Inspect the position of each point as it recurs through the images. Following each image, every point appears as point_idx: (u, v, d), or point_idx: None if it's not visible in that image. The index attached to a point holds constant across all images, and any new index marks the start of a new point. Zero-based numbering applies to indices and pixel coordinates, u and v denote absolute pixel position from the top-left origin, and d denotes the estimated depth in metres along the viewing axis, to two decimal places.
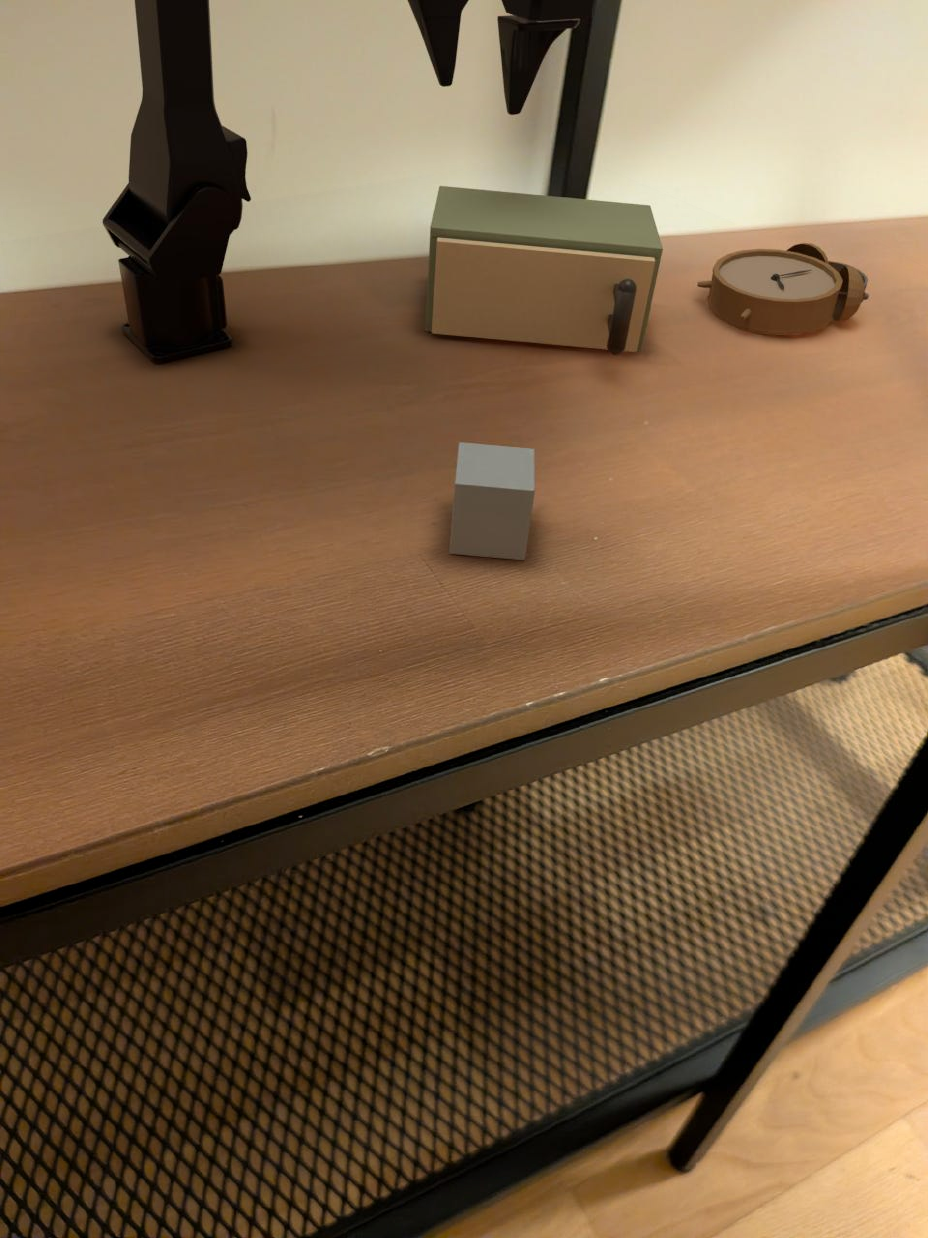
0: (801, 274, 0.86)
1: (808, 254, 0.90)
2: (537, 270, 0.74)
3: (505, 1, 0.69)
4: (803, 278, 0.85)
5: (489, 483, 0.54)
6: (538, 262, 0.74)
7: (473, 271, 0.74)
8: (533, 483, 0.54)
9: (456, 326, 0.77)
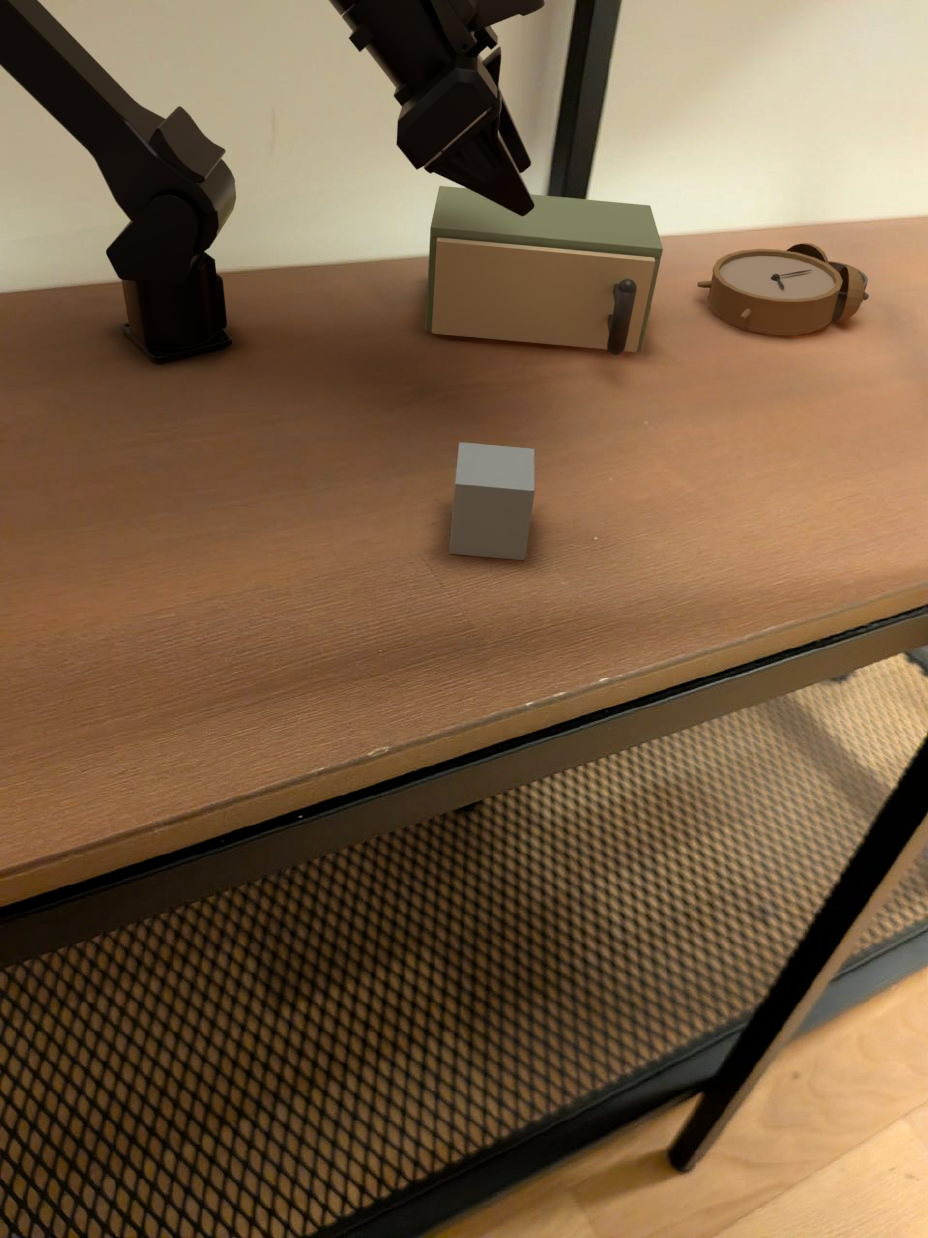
0: (801, 274, 0.86)
1: (808, 254, 0.90)
2: (537, 270, 0.74)
3: None
4: (803, 278, 0.85)
5: (489, 483, 0.54)
6: (538, 262, 0.74)
7: (473, 271, 0.74)
8: (533, 483, 0.54)
9: (456, 326, 0.77)
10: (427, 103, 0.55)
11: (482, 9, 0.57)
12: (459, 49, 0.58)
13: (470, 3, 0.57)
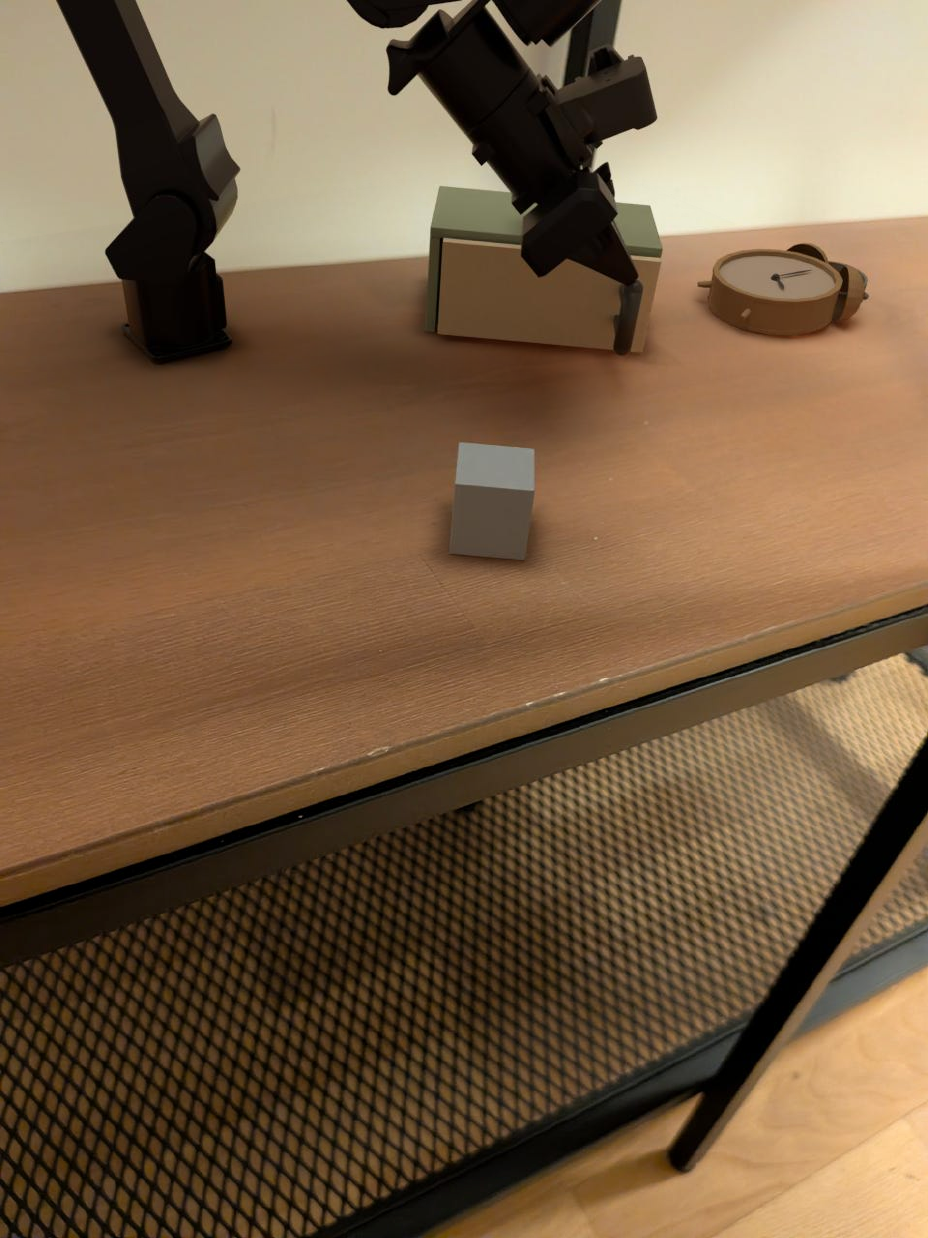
0: (801, 274, 0.86)
1: (808, 254, 0.90)
2: None
3: None
4: (803, 278, 0.85)
5: (489, 483, 0.54)
6: None
7: (479, 271, 0.74)
8: (533, 483, 0.54)
9: (462, 327, 0.77)
10: (552, 220, 0.58)
11: (599, 125, 0.61)
12: (576, 161, 0.62)
13: (588, 120, 0.61)
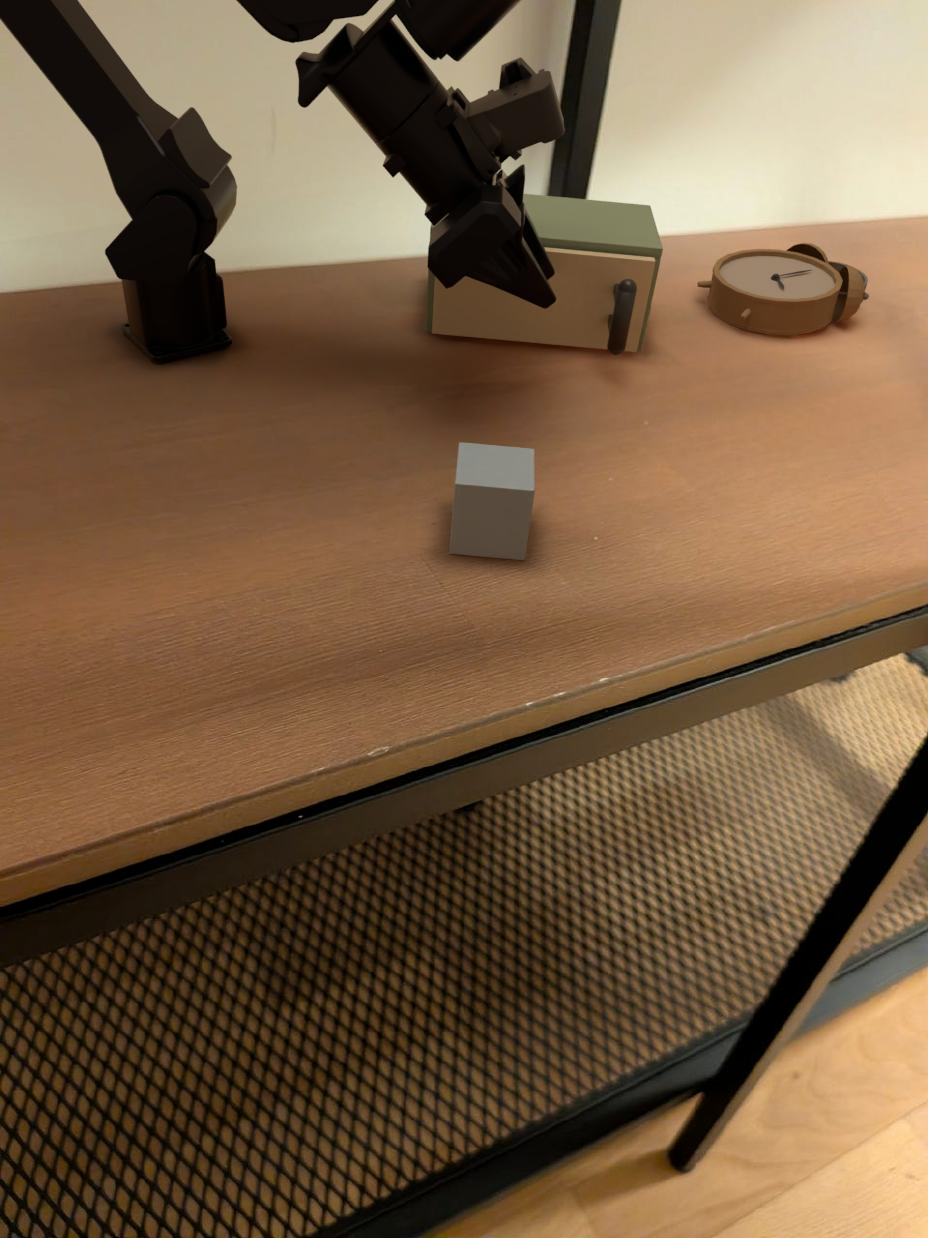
0: (801, 274, 0.86)
1: (808, 254, 0.90)
2: None
3: None
4: (803, 278, 0.85)
5: (489, 483, 0.54)
6: None
7: None
8: (533, 483, 0.54)
9: (456, 326, 0.77)
10: (456, 232, 0.59)
11: (506, 138, 0.62)
12: (485, 174, 0.63)
13: (495, 134, 0.61)
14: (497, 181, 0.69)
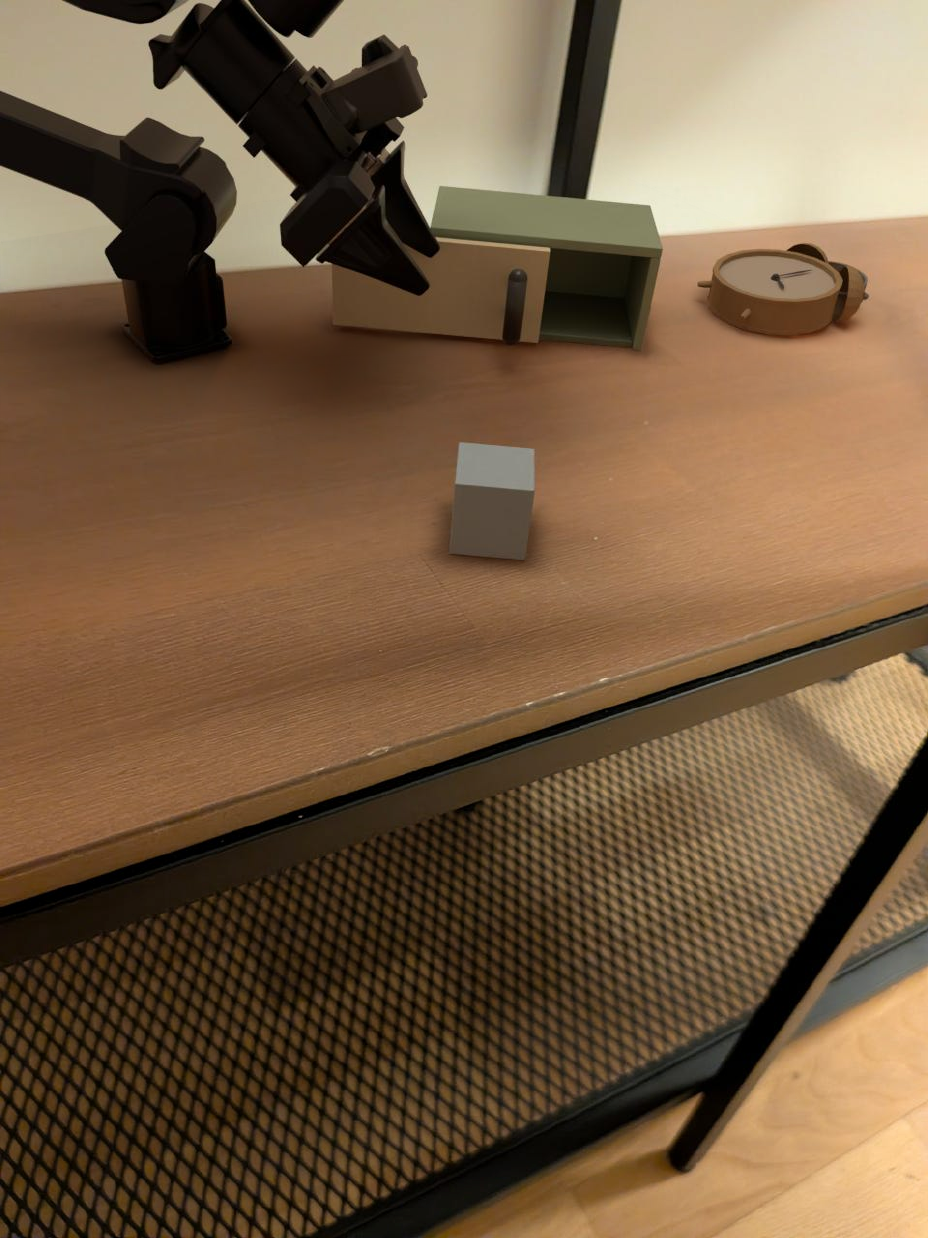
0: (801, 274, 0.86)
1: (808, 254, 0.90)
2: (433, 260, 0.74)
3: None
4: (803, 278, 0.85)
5: (489, 483, 0.54)
6: None
7: None
8: (533, 483, 0.54)
9: (356, 317, 0.77)
10: (304, 208, 0.58)
11: (362, 114, 0.61)
12: (344, 151, 0.62)
13: (350, 110, 0.61)
14: (375, 157, 0.69)
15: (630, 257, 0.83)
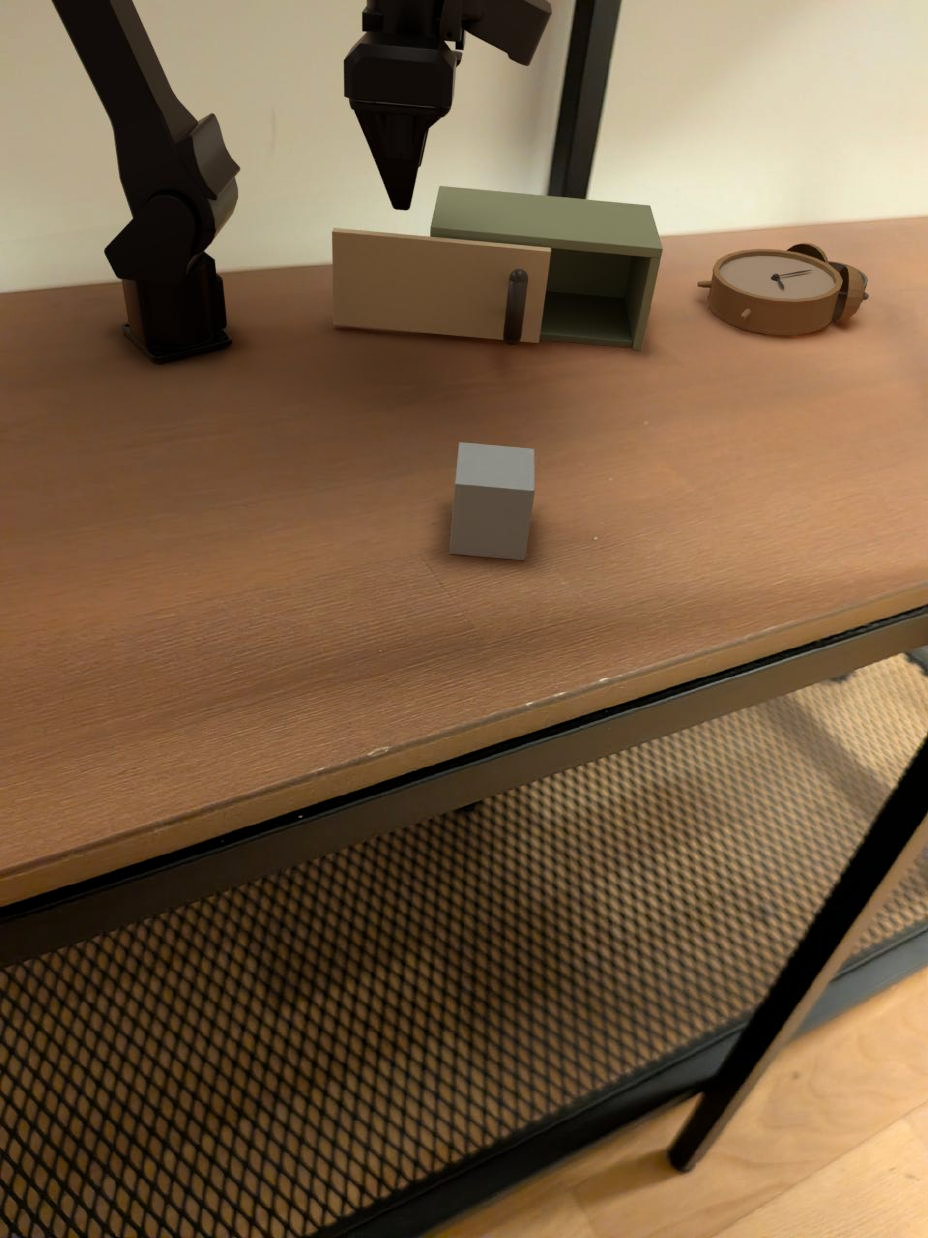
0: (801, 274, 0.86)
1: (808, 254, 0.90)
2: (434, 260, 0.74)
3: None
4: (803, 278, 0.85)
5: (489, 483, 0.54)
6: (434, 252, 0.73)
7: (370, 261, 0.74)
8: (533, 483, 0.54)
9: (357, 317, 0.77)
10: (395, 54, 0.53)
11: (483, 21, 0.57)
12: (443, 32, 0.57)
13: (478, 7, 0.57)
14: None
15: (630, 257, 0.83)
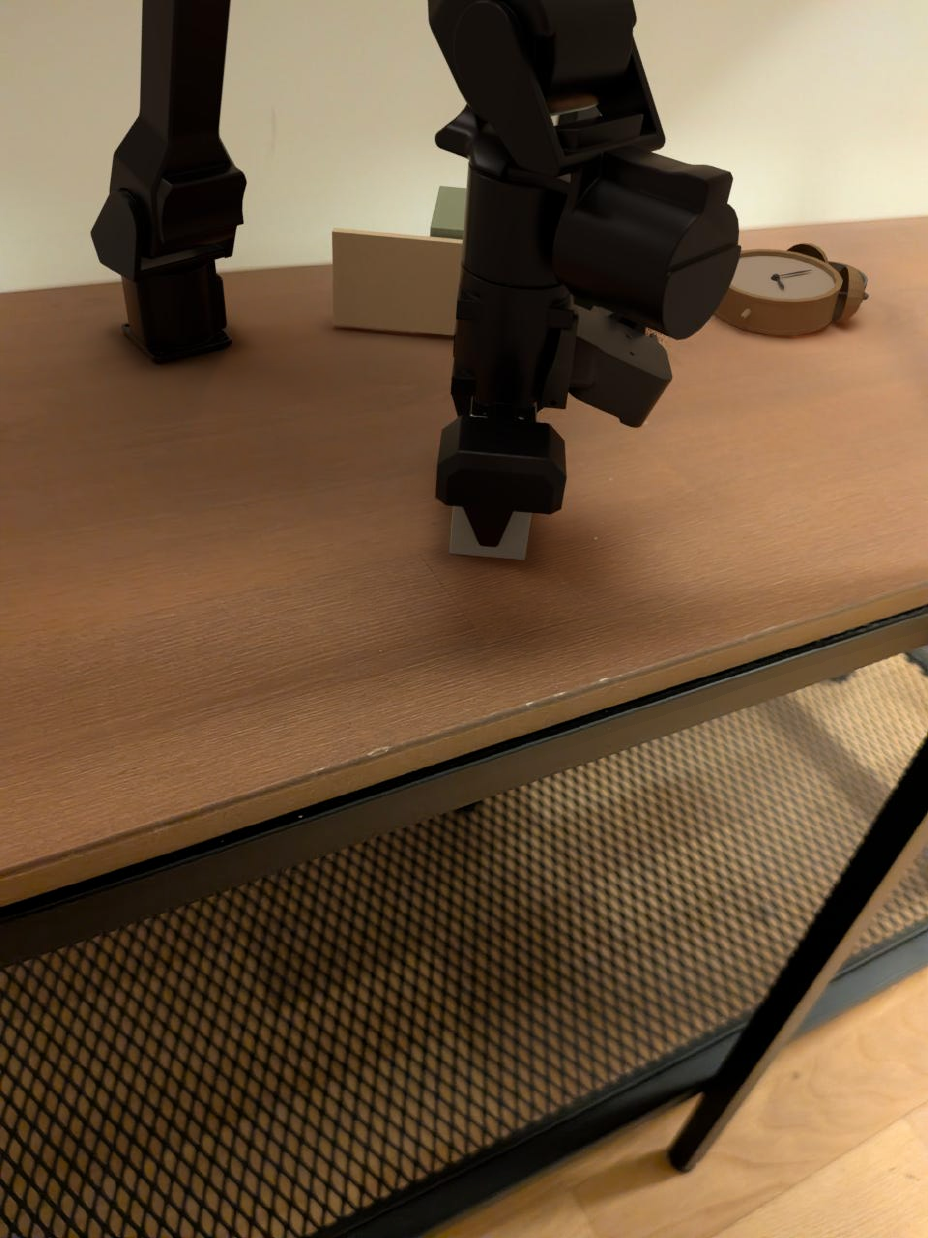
0: (801, 274, 0.86)
1: (808, 254, 0.90)
2: (434, 260, 0.74)
3: None
4: (803, 278, 0.85)
5: None
6: (434, 252, 0.73)
7: (370, 261, 0.74)
8: None
9: (357, 317, 0.77)
10: (499, 465, 0.44)
11: (593, 388, 0.49)
12: (546, 401, 0.49)
13: (589, 377, 0.48)
14: None
15: None
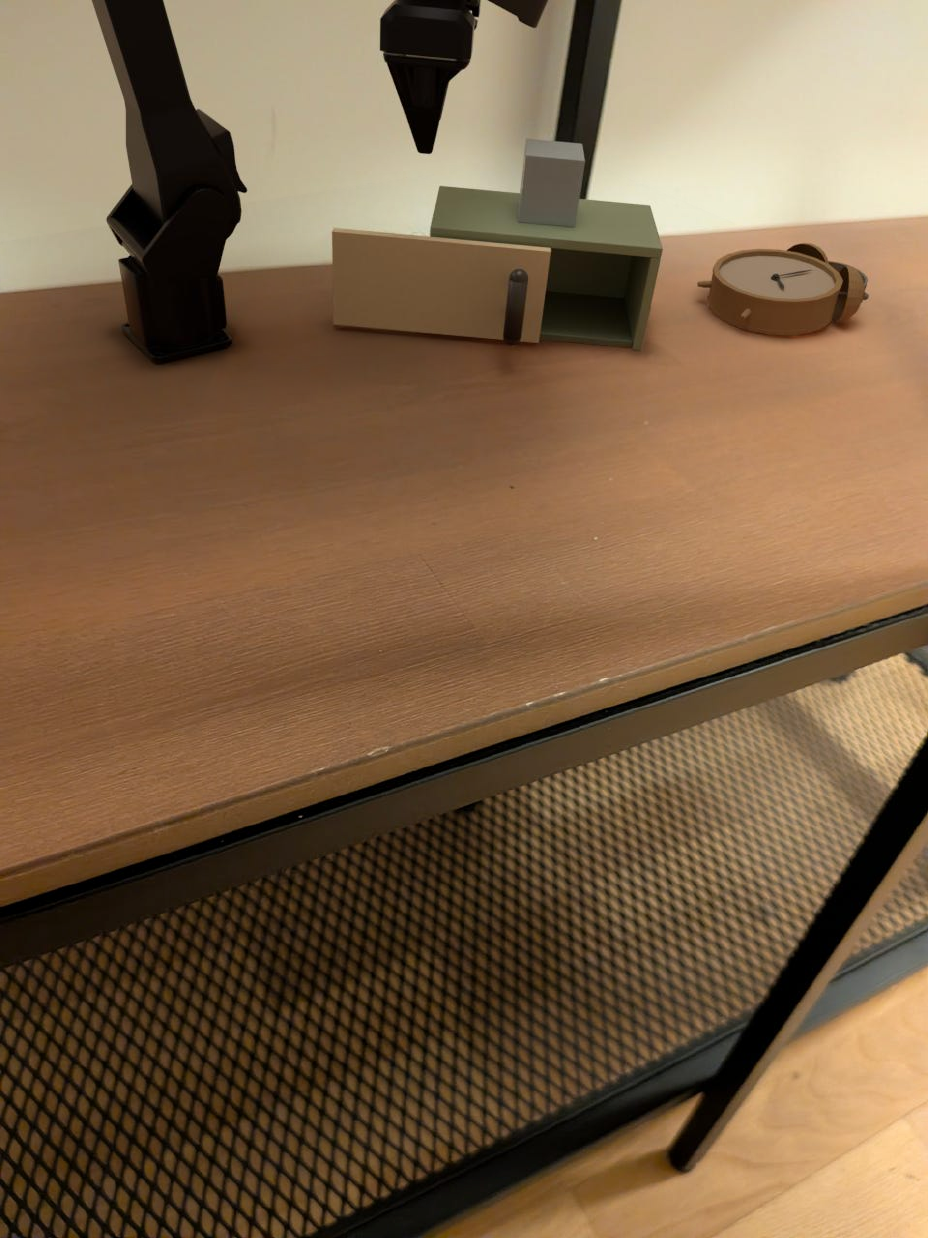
0: (801, 274, 0.86)
1: (808, 254, 0.90)
2: (434, 260, 0.74)
3: None
4: (803, 278, 0.85)
5: (551, 156, 0.72)
6: (434, 252, 0.73)
7: (370, 261, 0.74)
8: (583, 157, 0.73)
9: (357, 317, 0.77)
10: (424, 14, 0.62)
11: None
12: None
13: None
14: None
15: (630, 257, 0.83)
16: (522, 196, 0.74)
